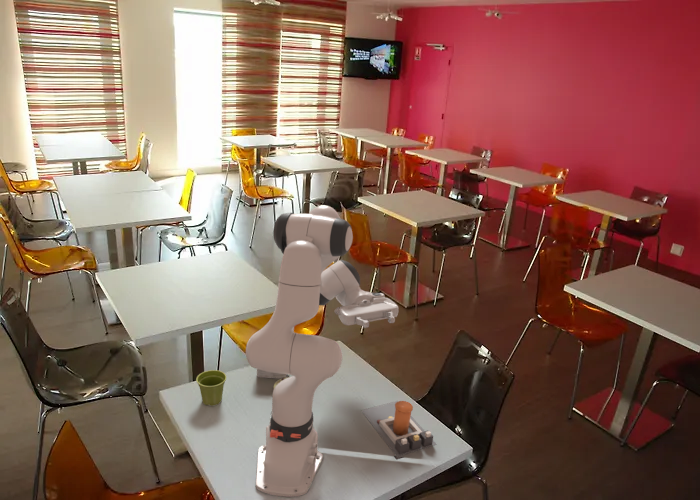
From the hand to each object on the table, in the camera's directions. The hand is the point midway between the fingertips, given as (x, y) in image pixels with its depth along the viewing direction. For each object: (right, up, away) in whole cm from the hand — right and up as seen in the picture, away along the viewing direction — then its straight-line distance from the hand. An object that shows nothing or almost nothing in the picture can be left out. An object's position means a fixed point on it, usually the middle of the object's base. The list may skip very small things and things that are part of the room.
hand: (380, 323), depth 169 cm
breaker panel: (+5, -33, -2) cm, 34 cm away
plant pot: (-55, -26, +5) cm, 61 cm away
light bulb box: (-37, -21, +22) cm, 49 cm away
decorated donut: (-30, -26, +13) cm, 42 cm away
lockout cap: (+6, -33, -4) cm, 34 cm away
